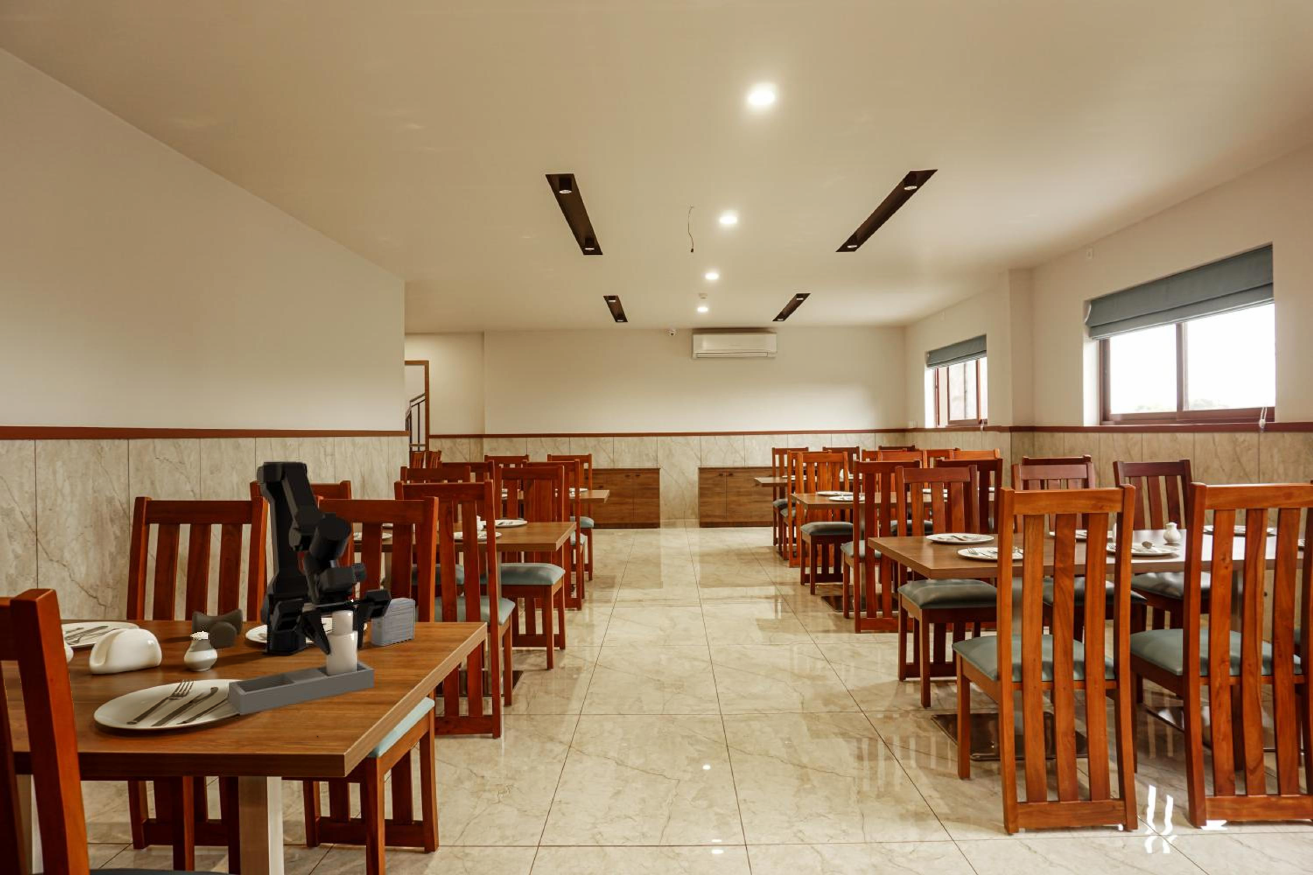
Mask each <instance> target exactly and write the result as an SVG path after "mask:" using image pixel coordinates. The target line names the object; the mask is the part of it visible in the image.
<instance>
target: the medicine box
mask: <svg viewBox="0 0 1313 875" xmlns="http://www.w3.org/2000/svg"><path fill="white" fill-rule="evenodd" d="M415 605H416V601H415V600H414V599H411V598H407V597H400V598H392V600H391V603H390V605H389V607H388V609H387V611H386V613H385V615H384V616H383V617H381V618H377V619H370V623H371V625H370V643H371V644H372V645H375V646H378V647H382V646H383V647H386V645H387V646H390V644H391V645H394V644H393V643H395V644H398V643H397V642H399V643H402V642H401V641H403V642H406V641H405V640H407V641H409V640H408V639H411V640H414V639H415V618H416V617H415V614H416V613H415V612H416V611H415V610H416V608H415V607H416V606H415ZM413 638H414V639H413Z"/></svg>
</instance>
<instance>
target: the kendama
mask: <svg viewBox="0 0 1313 875" xmlns="http://www.w3.org/2000/svg"><path fill="white" fill-rule="evenodd" d="M243 618H244V615H243V610H242V609H241V608H237V609H234V610H233V611H231V612H228V613H225V614H222V615H221V614H219V615H207V614H205V613H203V612H200V611H196V610H195V611H193V613H192V619H191V635H192V634H194V633H197V632H202V631H204V632H208V641H209V640H210V643H209V645H210V646H211V647H212V648H214V649H224V648H230V647H231V646H233V645H234V643H236V641H237V637H238V634H241V633H242V630H243V623H244V619H243Z"/></svg>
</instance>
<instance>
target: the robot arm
mask: <svg viewBox="0 0 1313 875" xmlns="http://www.w3.org/2000/svg"><path fill="white" fill-rule="evenodd" d="M255 477H256V482H257V484H259V489H260V494H261V495H262V497H263V498H264V499H265V500H266V502H267V503H268V504H269V507H270V509H269V510H270V520H271V523H270V524H271V525H270V526H271V537H272V538H271V539H272V550H273V551H272V553H273V554H272V555H273V566H274V569H273V570H274V574H273V576H272V577H271V579H270V581H269V583H268V585H267V587H266V594H265V595H264V599H263V601H262V604H261V606H260V610H259V615H260V622H261V623H262V624H264V625H265V626H266V648H265V649H264V650H261V653H260V654H261V655H283V656H284V655H286V656H287V655H289V656H290V655H294V654H295V653H298V652H300V651H303V650H305V649H307V648H309V647H310V645H309V644H307V640H310V641H311V642H312V643H313V644H314V645H316V646H317V647H318V649H320V650H321V651H322V652H323V654H325V656H326V655H329V654H330V652H331V651H330V645H329V641H328V639H327V633H326V631H325V627H324V625H323V619H322V618H323V617H329V616H332V613H333V612H336V611H346V610H347V611H353V629H352V630H355V631H357V632H358V633H357V651H358V650H359V651H360V650H362V648H363V642H364V632H365V625H366V624H367V623H368V621H371V619H377V618H381V617H383V616H384V615H385V613H386V611H387V609H388V607H389V605H390V603H391V600H392V599H393V598H392V595H391V593H390V590H388V589H387V588H378V589H370V590H369V589H368V590H365V593H364V594H363V597H362V598H361V599H354V600H353V599H350V597H352V596H353V594H354V592H355V591H354V589H353V587H354V586H357V585H358V583H363V582H364V581H365V580H366V579H367V569H366V566H365V564H364V562H363V561H362V562H354V563H352V565H347V566H340V563H339V560H338V559H340V558H341V557H343V555H344V552H345V550H346V547H347V544H348V542H349V541H350V537H351V534H352V532H353V527H352V525H351V524H350V523H349V522H348V521H347V520H345V519H343V518H342V517H338V516H337V514H336V512H325V511H324V510H322V509H320V508H319V506H318V503H317V499H316V497H315V494H314V491H313V489H312V485H311V483H310V480H309V477H308V465H307V464H306V463H305V462H303V461H264V462H263V464H262V465H261V466H258V467H257V470H256V476H255ZM299 553H304V554H303V556H302V559H301V562H302V569H301V568H300V558H299Z"/></svg>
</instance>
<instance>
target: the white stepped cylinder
mask: <svg viewBox="0 0 1313 875" xmlns="http://www.w3.org/2000/svg"><path fill="white" fill-rule="evenodd" d="M331 616H332V617H331V631H330V632H327V633H326V636H327V639H328V641H329V645H330V651H331V652H330V654H329V655H326V654H325V656H326V659H325V660H326V662H325V665H326V676H328V677H329V676H335V675H340V674H345V673H350V672H356V671H357V660H358V648H357V633H358V632H357V631H355V630H352V629H353V611H347V610H346V611H336V612H333V613H332V615H331Z"/></svg>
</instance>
